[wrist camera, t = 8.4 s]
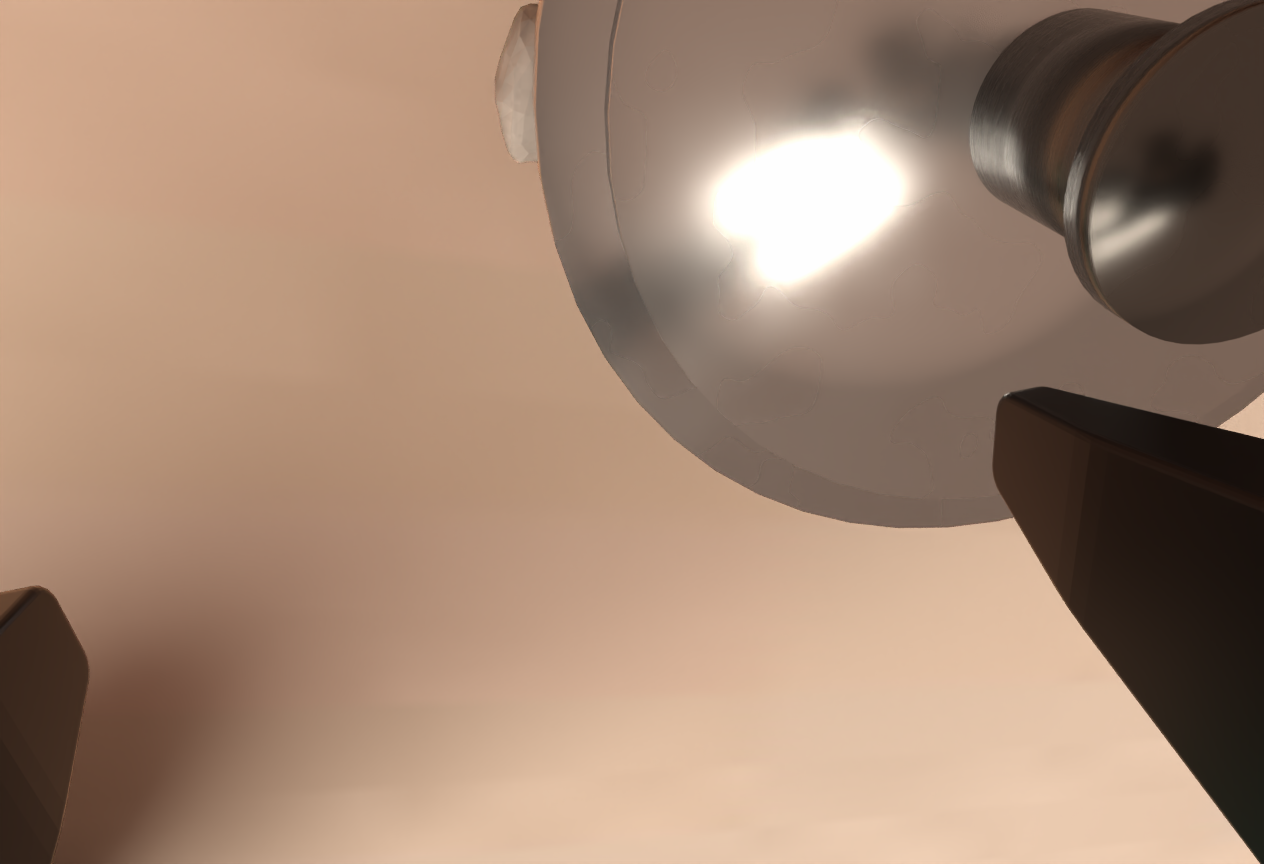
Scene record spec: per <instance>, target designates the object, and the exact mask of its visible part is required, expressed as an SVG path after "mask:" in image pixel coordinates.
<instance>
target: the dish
mask: <svg viewBox="0 0 1264 864" xmlns="http://www.w3.org/2000/svg"><path fill="white" fill-rule="evenodd" d="M537 9H538V4H528V5H525V6H523V7H521V8H520V9H519V11H518V13H517V14H516V16H515V18H514V20H513V23H512V26H511V28H510V31H509V34H508V37H507V40H506V42H505V45H504V48H503V51H502V53H501V56H500V60H499V64H498V68H497V72H496V76H495V101H496V105H497V109H498V113H499V119H500V125H501V130H502V134H503V137H504V140H505V143H506V146H507V150H508V152H509V154H510V155H511V157H512V158H513V160H515V161H516V162H518V163H526V162H536V161H537V152H536V140H535V128H534V116H533V104H532V86H533V62H534V38H535V21H536V15H537Z"/></svg>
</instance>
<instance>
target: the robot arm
mask: <svg viewBox="0 0 1264 864" xmlns="http://www.w3.org/2000/svg"><path fill="white" fill-rule="evenodd" d="M992 471H993V477H994V481H995V484H996V487H997V489H998V491H999V493H1000V495H1001V496H1002V498H1003V500H1004V501H1005V503H1006V505H1007V507H1008V508H1009V510H1010V512H1011V513H1012V515H1013V517H1014V518H1015V520H1016V522H1017V524H1018V525H1019V527H1020V529H1021V530H1022V532H1023V534H1024V535H1025V537H1026V539H1027V540H1028V542H1029V544H1030V546H1031V547H1032V549H1033V551H1034V552H1035V554H1036V556H1037V557H1038V559H1039V561H1040V563H1041V564H1042V566H1043V568H1044V569H1045V571H1046V573H1047V574H1048V576H1049V578H1050V579H1051V581H1052V583H1053V585H1054V586H1055V588H1056V590H1057V591H1058V593H1059V594H1060V596H1061V597H1062V599H1063V601H1064V602H1065V604H1066V605H1067V607H1068V608H1069V610H1070V611H1071V613H1072V614H1073V615H1074V617H1075V618H1076V619H1077V621H1078V622H1079V624H1080V625H1081V626H1082V628H1083V629H1084V631H1085V632H1086V633H1087V635H1088V636H1089V637H1090V639H1091V640H1092V641H1093V643H1094V644H1095V645H1096V646H1097V648H1098V649H1099V650H1100V652H1101V653H1102V654H1103V656H1104V657H1105V658H1106V660H1107V661H1108V662H1109V664H1110V665H1111V666H1112V668H1113V669H1114V670H1115V672H1116V673H1117V674H1118V676H1119V677H1120V678H1121V680H1122V681H1123V682H1124V684H1125V685H1126V686H1127V688H1128V689H1129V690H1130V692H1131V693H1132V694H1133V696H1134V697H1135V698H1136V700H1137V701H1138V702H1139V704H1140V705H1141V706H1142V708H1143V709H1144V710H1145V711H1146V713H1147V714H1148V715H1149V717H1150V718H1151V719H1152V721H1153V722H1154V723H1155V725H1156V726H1157V727H1158V729H1159V730H1160V731H1161V733H1162V734H1163V735H1164V737H1165V738H1166V739H1167V741H1168V742H1169V743H1170V745H1171V746H1172V747H1173V749H1174V750H1175V751H1176V753H1177V754H1178V755H1179V757H1180V758H1181V759H1182V761H1183V762H1184V763H1185V765H1186V766H1187V767H1188V769H1189V770H1190V771H1191V772H1192V774H1193V775H1194V776H1195V778H1196V779H1197V780H1198V782H1199V783H1200V784H1201V786H1202V787H1203V788H1204V790H1205V791H1206V792H1207V794H1208V795H1209V796H1210V798H1211V799H1212V800H1213V802H1214V803H1215V804H1216V806H1217V807H1218V808H1219V810H1220V811H1221V812H1222V814H1223V815H1224V816H1225V818H1226V819H1227V820H1228V822H1229V823H1230V824H1231V826H1232V827H1233V828H1234V830H1235V831H1236V832H1237V833H1238V835H1239V836H1240V837H1241V839H1242V840H1243V841H1244V843H1245V844H1246V845H1247V847H1248V848H1249V849H1250V851H1251V852H1252V853H1253V855H1254V856H1255V857H1256V859H1257V860H1258V861H1259V863H1260V864H1264V439H1261V438H1257V437H1253V436H1249V435H1245V434H1240V433H1236V432H1232V431H1228V430H1224V429H1220V428H1216V427H1212V426H1207V425H1203V424H1199V423H1195V422H1191V421H1187V420H1183V419H1179V418H1174V417H1170V416H1166V415H1162V414H1158V413H1154V412H1150V411H1145V410H1141V409H1137V408H1133V407H1129V406H1125V405H1121V404H1117V403H1112V402H1108V401H1104V400H1100V399H1096V398H1092V397H1088V396H1084V395H1079V394H1075V393H1071V392H1067V391H1063V390H1059V389H1055V388H1051V387H1045V386H1039V387H1033V388H1028V389H1023V390H1018V391H1013V392H1009V393H1006V394H1005V395H1004V396H1003V397H1002V398H1001V399H1000V400H999V402H998V405H997V410H996V420H995V434H994V447H993V460H992ZM88 684H89V665H88V660H87V657H86V654H85V652H84V650H83V648H82V646H81V644H80V642H79V640H78V638H77V636H76V635H75V633H74V631H73V629H72V627H71V625H70V623H69V621H68V620H67V618H66V616H65V614H64V612H63V610H62V608H61V607H60V605H59V603H58V601H57V599H56V598H55V596H54V595H53V594H52V593H51V592H50V591H49V590H48V589H46V588H43V587H41V586H30V587H25V588H20V589H15V590H10V591H5V592H0V864H52V862H53V858H54V854H55V851H56V847H57V843H58V840H59V836H60V833H61V828H62V824H63V819H64V814H65V810H66V805H67V800H68V794H69V788H70V783H71V777H72V772H73V766H74V761H75V755H76V750H77V744H78V739H79V733H80V728H81V722H82V717H83V711H84V706H85V700H86V695H87V689H88Z"/></svg>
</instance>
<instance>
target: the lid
mask: <svg viewBox="0 0 1264 864" xmlns="http://www.w3.org/2000/svg"><path fill="white" fill-rule="evenodd" d="M532 104H533V116H534V128H535V140H536V152H537V164H538V171H539V175H540V180H541V184H542V189H543V194H544V198H545V203H546V208H547V212H548V217H549V221H550V226H551V231H552V234H553V238H554V242H555V245H556V248H557V251H558V254H559V257H560V259H561V262H562V265H563V268H564V270H565V273H566V276H567V279H568V281H569V284H570V287H571V290H572V292H573V295H574V298H575V301H576V303H577V306H578V308H579V310H580V312H581V313H582V315H583V317H584V319H585V321H586V323H587V325H588V327H589V329H590V330H591V332H592V334H593V336H594V338H595V340H596V342H597V344H598V345H599V347H600V349H601V351H602V353H603V355H604V357H605V358H606V360H607V361H608V362H609V364H610V365H611V366H612V368H613V369H614V371H615V372H616V373H617V375H618V376H619V377H620V379H621V380H622V382H623V383H624V384H625V386H626V387H627V388H628V390H629V391H630V392H631V394H632V395H633V397H634V398H635V399H636V401H637V402H638V403H639V404H640V405H641V406H642V407H643V408H644V409H645V410H646V411H647V412H648V413H649V414H650V415H651V416H652V417H653V418H654V419H655V420H656V421H657V422H658V423H659V424H660V425H661V426H662V427H663V428H664V429H665V431H666V432H667V433H668V434H669V435H670V436H671V437H672V438H673V439H674V440H676V441H677V442H678V443H680V444H681V445H682V446H684V447H685V448H686V449H688V450H689V451H690V452H691V453H693V454H694V455H695V456H697V457H698V458H699V459H701V460H702V461H703V462H705V463H706V464H707V465H709V466H710V467H711V468H713V469H714V470H715V471H717V472H719V473H721V474H723V475H724V476H726V477H728V478H730V479H732V480H733V481H735V482H737V483H739V484H741V485H742V486H744V487H746V488H748V489H750V490H751V491H753V492H755V493H757V494H759V495H762V496H764V497H767V498H769V499H772V500H775V501H777V502H780V503H782V504H785V505H788V506H790V507H793V508H795V509H798V510H801V511H803V512H807V513H812V514H816V515H820V516H824V517H828V518H833V519H837V520H841V521H845V522H849V523H857V524H867V525H876V526H885V527H895V528H933V527H954V526H962V525H970V524H978V523H986V522H994V521H1000V520H1004V519H1009V518H1013V515H1012V513H1011V512H1010V510H1009V508H1008V507H1007V505H1006V503H1005V501H1004V500H1003V498H1002V496H1001V495H1000V493H999V491H998V489H997V487H996V484H995V481H994V477H993V471H992V460H993V447H994V434H995V420H996V410H997V405H998V402H999V400H1000V399H1001V398H1002V397H1003V396H1004V395H1005V394H1006V393H1009V392H1013V391H1018V390H1023V389H1028V388H1033V387H1039V386H1045V387H1051V388H1055V389H1059V390H1063V391H1067V392H1071V393H1075V394H1079V395H1084V396H1088V397H1092V398H1096V399H1100V400H1104V401H1108V402H1112V403H1117V404H1121V405H1125V406H1129V407H1133V408H1137V409H1141V410H1145V411H1150V412H1154V413H1158V414H1162V415H1166V416H1170V417H1174V418H1179V419H1183V420H1187V421H1191V422H1195V423H1199V424H1203V425H1207V426H1212V427H1216V428H1217V427H1218V426H1219V425H1221V424H1222V423H1224V422H1225V421H1227V420H1228V419H1230V418H1231V417H1232V416H1234V415H1235V414H1237V413H1238V412H1240V411H1241V410H1243V409H1244V408H1245V407H1246V406H1248V405H1249V404H1250V403H1251V402H1252V401H1254V400H1255V399H1256V398H1257V397H1258V396H1260V395H1261V394H1262V393H1263V392H1264V0H539V3H538V9H537V15H536V21H535V38H534V62H533V86H532Z"/></svg>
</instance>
